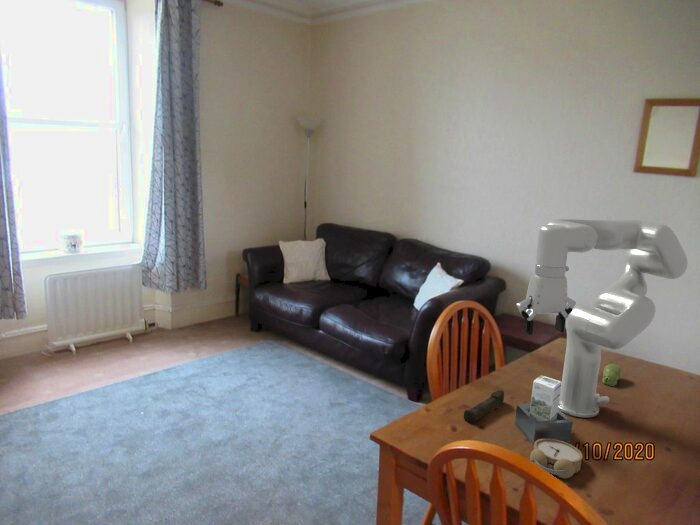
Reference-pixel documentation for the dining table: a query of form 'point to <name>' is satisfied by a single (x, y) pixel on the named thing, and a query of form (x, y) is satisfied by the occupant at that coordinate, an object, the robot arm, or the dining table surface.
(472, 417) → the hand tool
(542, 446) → the alarm clock
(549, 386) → the syrup box
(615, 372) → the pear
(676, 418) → the dining table surface
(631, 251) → the robot arm
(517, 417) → the socket holder
